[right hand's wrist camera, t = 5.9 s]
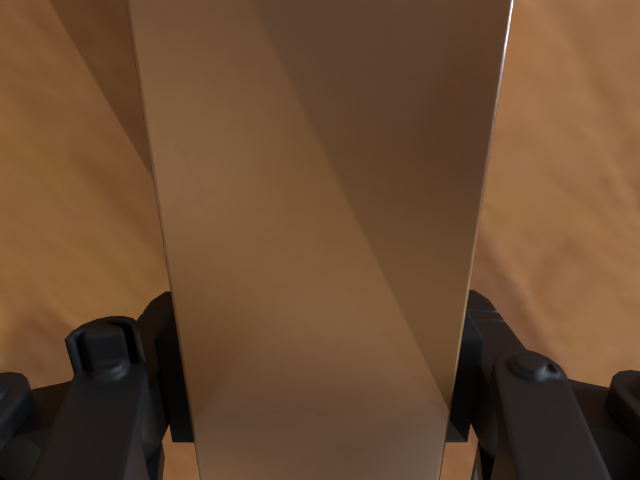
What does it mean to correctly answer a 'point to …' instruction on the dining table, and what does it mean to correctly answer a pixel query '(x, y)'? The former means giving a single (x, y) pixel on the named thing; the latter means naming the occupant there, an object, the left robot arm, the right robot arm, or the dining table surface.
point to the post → (319, 221)
